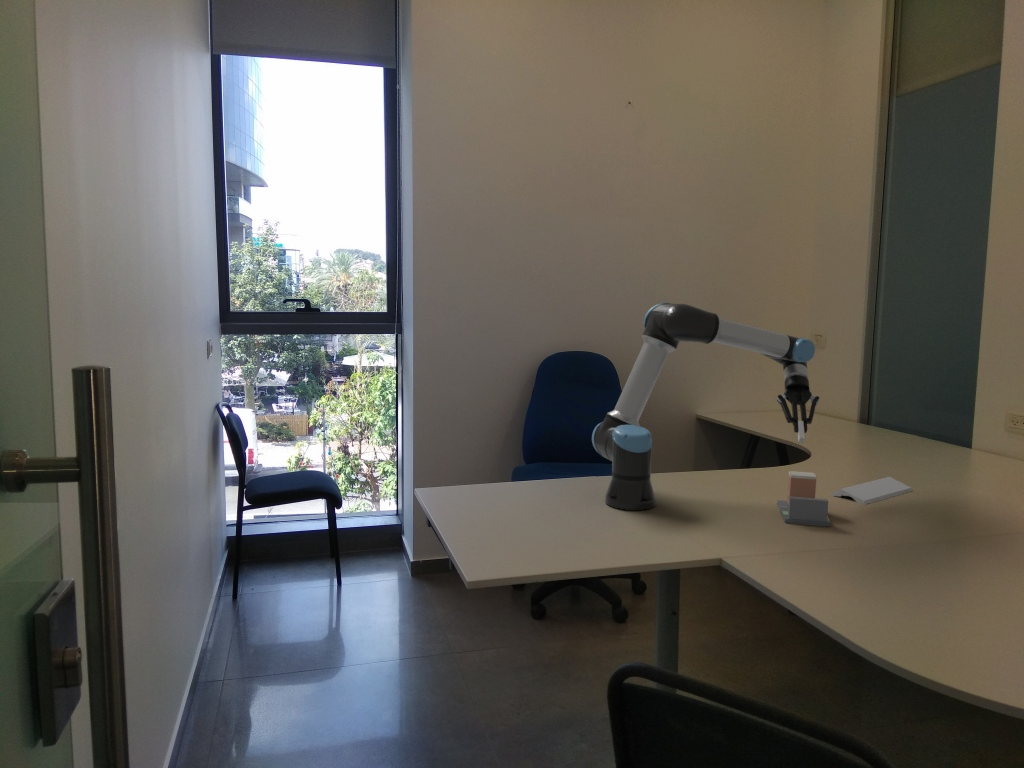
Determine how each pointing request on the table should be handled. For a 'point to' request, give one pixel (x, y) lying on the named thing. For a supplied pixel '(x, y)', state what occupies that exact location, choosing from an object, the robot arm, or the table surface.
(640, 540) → the table surface
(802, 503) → the base
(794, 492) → the orange box with lid
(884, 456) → the table surface
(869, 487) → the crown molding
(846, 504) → the table surface
